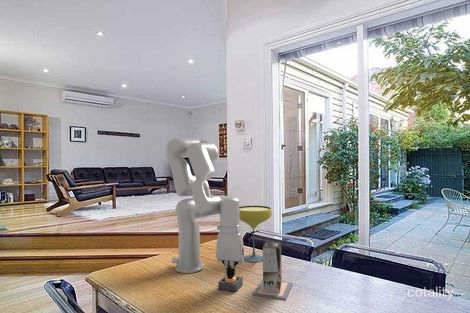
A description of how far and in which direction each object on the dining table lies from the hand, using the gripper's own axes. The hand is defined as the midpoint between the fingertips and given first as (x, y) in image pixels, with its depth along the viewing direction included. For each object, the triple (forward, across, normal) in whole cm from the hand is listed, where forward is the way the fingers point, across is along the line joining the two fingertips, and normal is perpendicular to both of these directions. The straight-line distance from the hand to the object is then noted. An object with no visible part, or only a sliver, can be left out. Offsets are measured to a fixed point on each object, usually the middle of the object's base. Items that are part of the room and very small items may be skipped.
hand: (230, 277), depth 115 cm
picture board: (+4, +16, +3) cm, 17 cm away
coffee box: (+3, +16, +3) cm, 16 cm away
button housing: (+4, 0, 0) cm, 4 cm away
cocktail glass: (+4, -1, +35) cm, 35 cm away
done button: (+3, 0, 0) cm, 3 cm away
